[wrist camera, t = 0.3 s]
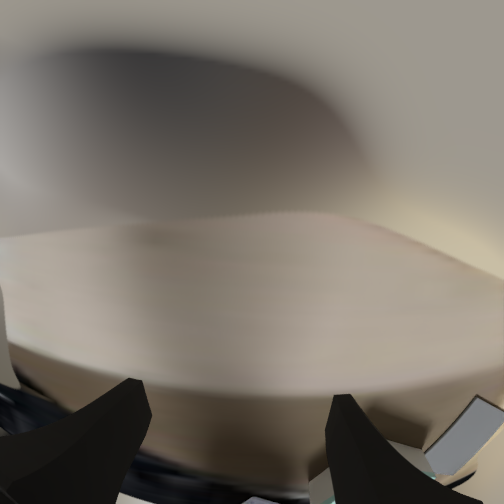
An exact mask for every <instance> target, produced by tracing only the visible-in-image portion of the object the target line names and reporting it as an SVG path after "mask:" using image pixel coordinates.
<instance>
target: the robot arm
mask: <svg viewBox="0 0 504 504" xmlns="http://www.w3.org/2000/svg"><path fill="white" fill-rule="evenodd" d="M151 418H152V413H151V410H150V406H149V403H148V400H147V396H146V393H145V389H144V386H143V382H142V380H137V379H132V378H128V379H126V380H124V381H123V382H121V383H120V384H118V385H117V386H116V387H114V388H113V389H111V390H110V391H108V392H107V393H105V394H104V395H102V396H101V397H99V398H98V399H96V400H95V401H93V402H92V403H90V404H88V405H87V406H85V407H83V408H82V409H80V410H78V411H76V412H75V413H73V414H71V415H69V416H67V417H65V418H63V419H61V420H59V421H57V422H54V423H52V424H50V425H47V426H44V427H41V428H38V429H35V430H32V431H28V432H25V433H20V434H15V435H10V436H2V437H0V504H116V500H117V497H118V494H119V491H120V488H121V485H122V482H123V480H124V478H125V475H126V473H127V471H128V469H129V467H130V465H131V463H132V462H133V460H134V458H135V456H136V454H137V452H138V450H139V448H140V446H141V444H142V442H143V440H144V438H145V436H146V433H147V430H148V427H149V424H150V421H151ZM325 438H326V453H327V458H328V464H329V469H330V474H331V480H332V485H333V491H334V497H335V504H483V502H482V501H480V500H477V499H474V498H471V497H469V496H466V495H463V494H460V493H458V492H456V491H454V490H452V489H450V488H448V487H446V486H444V485H442V484H440V483H439V482H437V481H436V480H434V479H432V478H431V477H429V476H428V475H426V474H424V473H423V472H422V471H420V470H419V469H418V468H416V467H415V466H414V465H413V464H411V463H410V462H409V461H408V460H407V459H405V458H404V457H403V456H402V455H401V454H400V453H399V452H398V451H397V450H396V449H395V448H394V447H393V446H392V445H391V444H390V443H389V442H388V441H387V440H386V439H385V438H384V436H383V435H382V434H381V433H380V432H379V431H378V429H377V428H376V427H375V426H374V425H373V423H372V422H371V421H370V420H369V418H368V417H367V416H366V414H365V413H364V412H363V411H362V409H361V408H360V406H359V405H358V404H357V402H356V401H355V399H354V398H353V397H352V395H351V394H342V395H334V397H333V401H332V405H331V409H330V413H329V417H328V421H327V424H326V428H325ZM242 504H279V503H275V502H272V501H268V500H265V499H261V498H258V497H251V498H250V499H248V500H247V501H245V502H244V503H242Z"/></svg>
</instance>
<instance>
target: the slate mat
mask: <svg viewBox="0 0 504 504" xmlns="http://www.w3.org/2000/svg"><path fill="white" fill-rule="evenodd" d="M503 422H504V412H503V411H502V410H500V409H498V408H496V407H494V406H492V405H491V404H489V403H487V402H485V401H483V400H481V399H480V398H478V397H475V398H474V399H473V401H472V402H471V403H470V404H469V406H468V407H467V408H466V409H465V410H464V412H463V413H462V414H461V415H460V416H459V418H458V419H457V420H456V421H455V422H454V423H453V424H452V425H451V426H450V428H449V429H448V430H447V431H446V432H445V433H444V434H443V435H442V436H441V437H440V438H439V439H438V440H437V441H436V442H435V443H434V444H433V445H432V446H431V447H430V448H429V449H428V450H427V451H426V452H425V453H424V455H425V456H426V458H427V460H428V462H429V464H430V466H431V468H432V470H433V472H434V473H436V474H444V475H454V474H455V473H456V472H457V471H458V470H459V469H461V468H462V467H463V466H464V465H465V464H466V463H467V462H468V461H469V460H470V459H471V458H472V457H473V456H474V455H475V454H476V453H477V452H478V451H479V450H480V449H481V448H482V447H483V445H484V444H485V443H486V442H487V441H488V440H489V439H490V438H491V437H492V435H493V434H494V433H495V432H496V431H497V430H498V428H499V427H500V426H501V425H502V424H503Z"/></svg>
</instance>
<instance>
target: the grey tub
mask: <svg viewBox="0 0 504 504" xmlns="http://www.w3.org/2000/svg"><path fill="white" fill-rule="evenodd" d="M386 440H387V439H386ZM387 441H388V442H389V443H390V444H391V445H392V446H393V447H394V448H395V449H396V450H397V451H398V452H399V453H400V454H401V455H402V456H403V457H404V458H405V459H407V460H408V461H409V462H410V463H411V464H413V465H414V466H415V467H416V468H418V469H419V470H420V471H425V472H432V473H434V472H433V470H432V468H431V466H430V464H429V462H428V460H427V458H426V456H425V455H424V453H423V451H422V449H418V448H414V447H410V446H407V445H403V444H400V443H396V442H393V441H390V440H387ZM309 494H310V504H321V503H322V502H324V501H325V500H327V499H328V498H330V497H331V496H333V495H334V491H333V485H332V480H331V474H330V469H329V467H328V468H327V469H326V470H324V471H323V472H322V473H320V474H319V475H318V476H317V477H315V478H314V479H313V480H311V481H310V482H309Z"/></svg>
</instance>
